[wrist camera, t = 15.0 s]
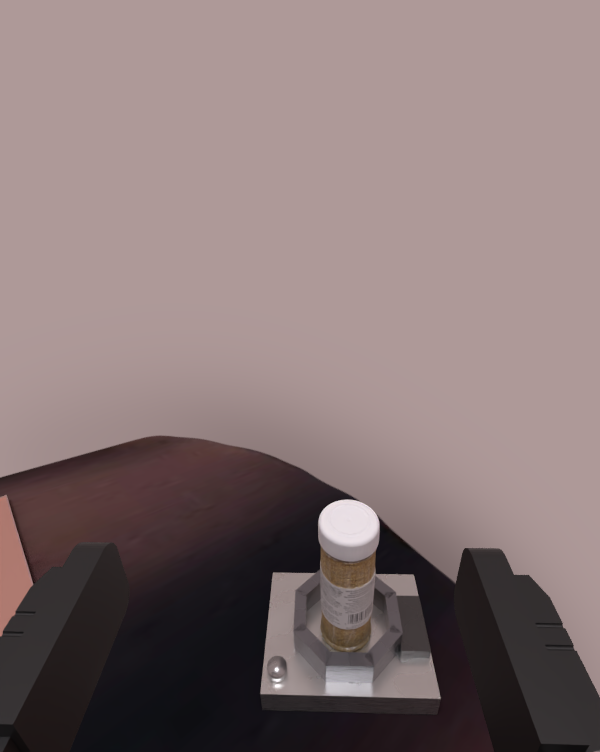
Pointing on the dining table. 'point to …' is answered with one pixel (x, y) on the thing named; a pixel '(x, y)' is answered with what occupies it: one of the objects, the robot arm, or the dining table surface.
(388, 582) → the octagonal ring base plate
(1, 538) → the notebook
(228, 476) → the dining table surface
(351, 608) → the sprinkles bottle
